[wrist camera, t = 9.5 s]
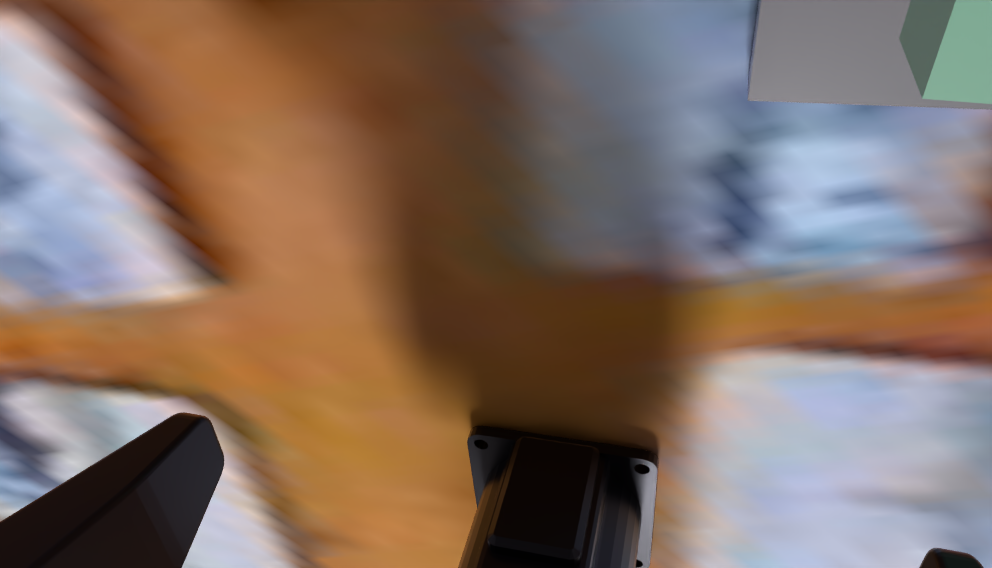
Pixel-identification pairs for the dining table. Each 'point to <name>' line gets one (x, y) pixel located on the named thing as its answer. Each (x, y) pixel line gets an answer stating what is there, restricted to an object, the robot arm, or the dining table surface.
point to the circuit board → (950, 49)
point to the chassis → (835, 55)
